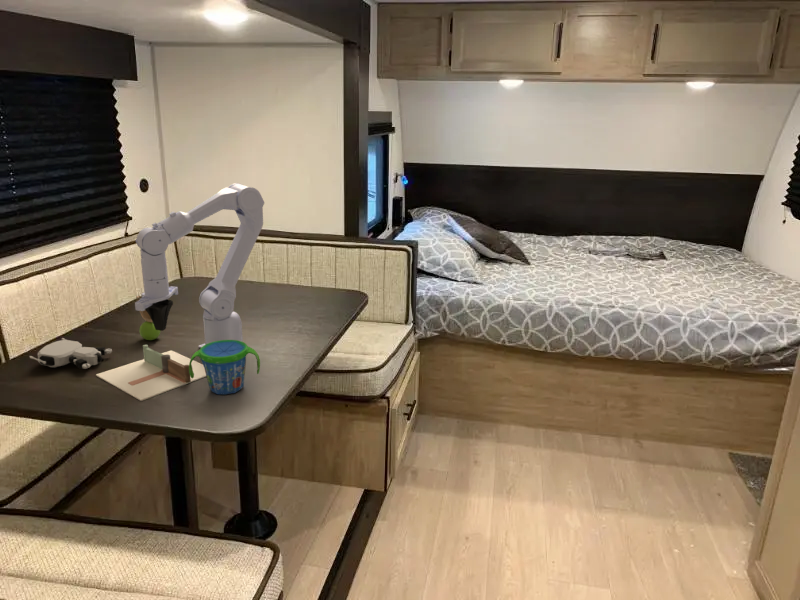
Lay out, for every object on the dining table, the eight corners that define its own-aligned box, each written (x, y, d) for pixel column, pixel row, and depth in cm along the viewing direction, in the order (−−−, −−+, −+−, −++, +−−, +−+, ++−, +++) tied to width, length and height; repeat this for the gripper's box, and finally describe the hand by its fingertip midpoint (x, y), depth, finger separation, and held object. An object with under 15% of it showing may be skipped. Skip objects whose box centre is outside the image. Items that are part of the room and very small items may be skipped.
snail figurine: (150, 333, 173) (146, 293, 169) (165, 338, 170) (161, 297, 166) (133, 339, 169) (128, 298, 165) (149, 344, 166) (144, 302, 162)
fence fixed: (168, 368, 150) (167, 353, 149) (193, 380, 144) (191, 365, 143) (161, 371, 149) (159, 356, 148) (185, 383, 143) (184, 367, 142)
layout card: (171, 351, 162) (171, 349, 161) (217, 372, 150) (217, 370, 150) (96, 375, 146) (95, 374, 146) (141, 401, 135) (140, 399, 135)
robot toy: (116, 359, 158) (61, 351, 160) (115, 343, 157) (59, 335, 158) (87, 379, 147) (28, 370, 148) (86, 362, 145) (26, 353, 146)
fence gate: (147, 359, 155) (146, 344, 154) (166, 368, 150) (164, 352, 149) (143, 360, 154) (141, 345, 153) (161, 369, 149) (160, 354, 148)
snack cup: (186, 399, 136) (182, 357, 133) (197, 379, 146) (193, 339, 143) (257, 398, 137) (255, 356, 134) (263, 378, 147) (262, 338, 144)
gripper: (159, 268, 158) (164, 318, 162) (121, 283, 144) (127, 337, 148) (183, 271, 156) (187, 321, 160) (147, 286, 143) (153, 340, 147)
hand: (160, 329), depth 154 cm, fingers closed
